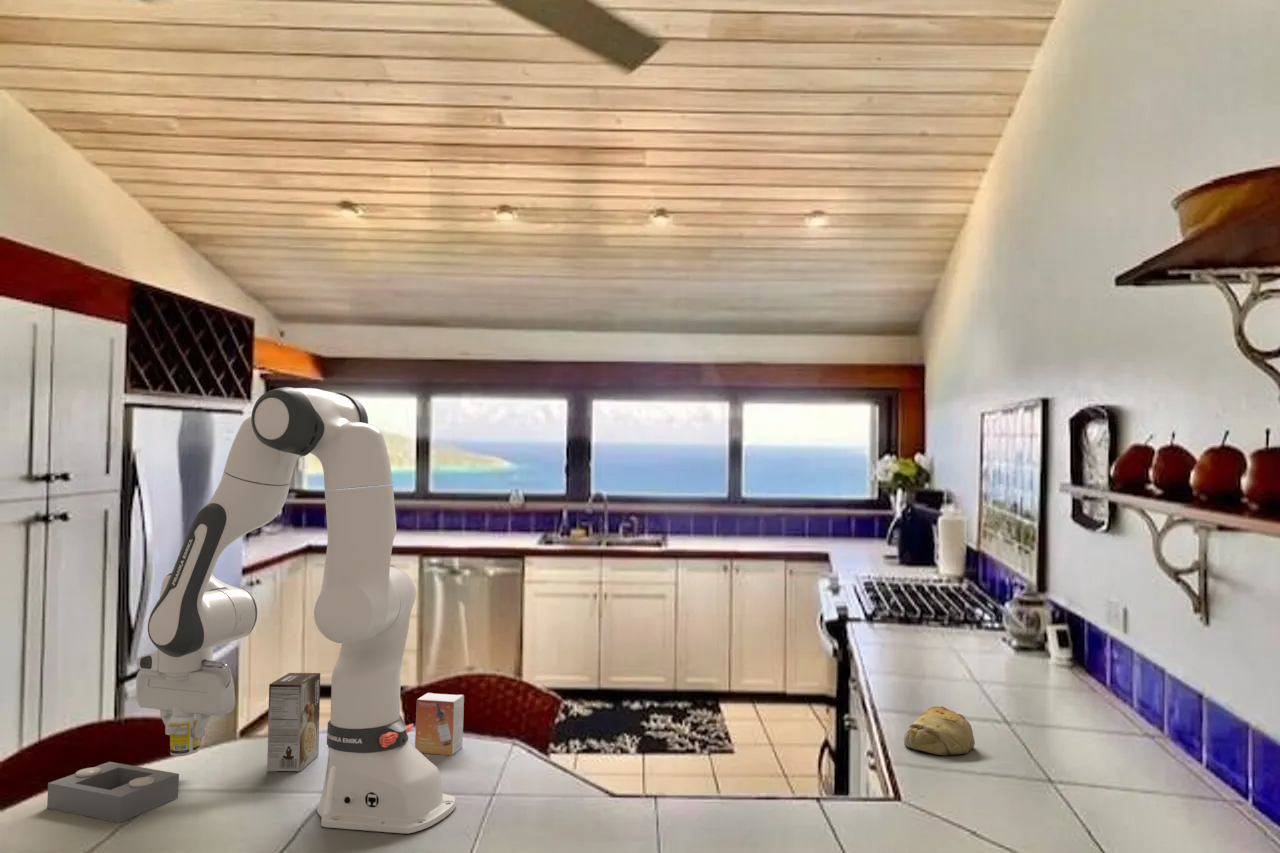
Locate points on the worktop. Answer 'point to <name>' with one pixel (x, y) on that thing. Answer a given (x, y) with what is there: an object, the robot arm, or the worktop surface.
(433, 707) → the small box
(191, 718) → the supplement bottle
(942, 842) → the worktop surface
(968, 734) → the pastry
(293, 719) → the coffee box
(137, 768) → the housing
